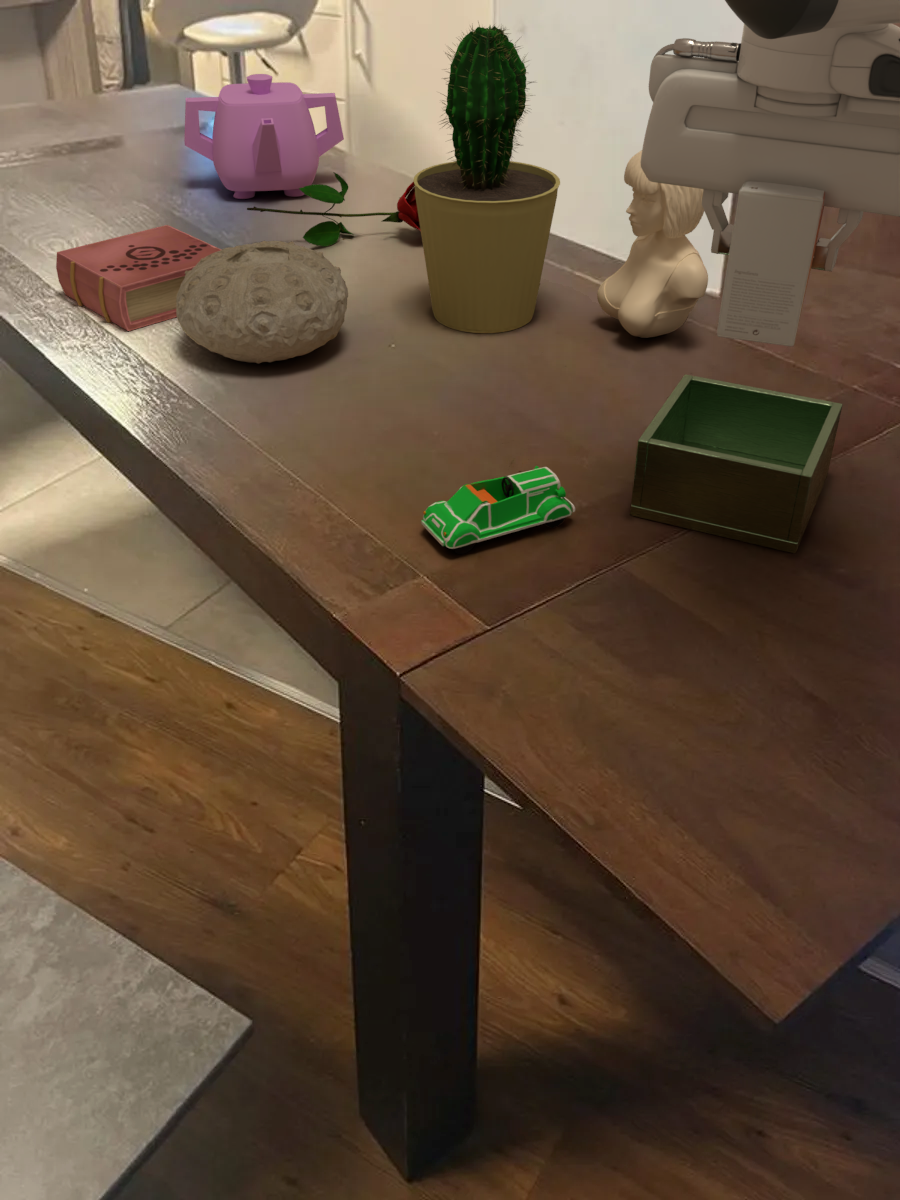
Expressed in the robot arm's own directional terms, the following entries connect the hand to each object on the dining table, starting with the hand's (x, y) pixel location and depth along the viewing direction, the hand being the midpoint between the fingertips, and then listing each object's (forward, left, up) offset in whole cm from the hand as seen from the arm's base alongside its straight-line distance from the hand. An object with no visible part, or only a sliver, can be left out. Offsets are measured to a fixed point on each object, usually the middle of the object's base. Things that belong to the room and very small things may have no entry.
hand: (772, 260), depth 84 cm
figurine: (+18, -35, -22) cm, 45 cm away
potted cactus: (+36, -32, -22) cm, 53 cm away
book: (+73, -20, -22) cm, 78 cm away
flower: (+59, -47, -22) cm, 79 cm away
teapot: (+83, -62, -22) cm, 106 cm away
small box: (0, 0, -5) cm, 5 cm away
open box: (+1, -4, -22) cm, 22 cm away
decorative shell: (+53, -14, -22) cm, 59 cm away
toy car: (+17, +9, -22) cm, 29 cm away
